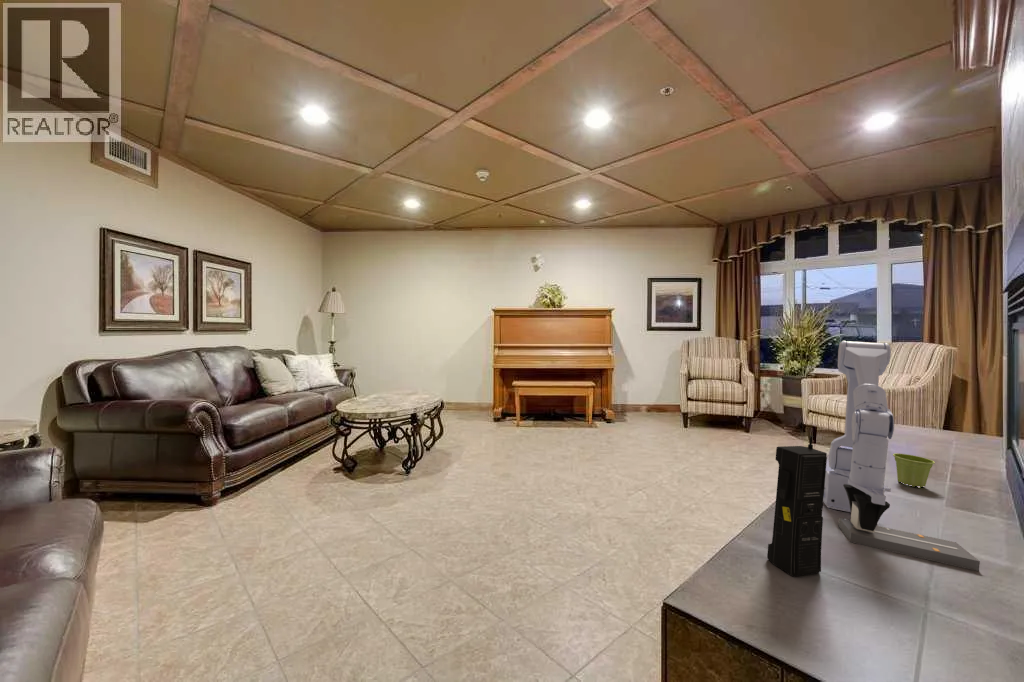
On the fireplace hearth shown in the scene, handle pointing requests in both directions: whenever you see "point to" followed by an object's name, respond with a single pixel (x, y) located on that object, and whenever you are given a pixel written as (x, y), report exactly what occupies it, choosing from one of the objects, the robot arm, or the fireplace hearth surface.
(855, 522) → the fader
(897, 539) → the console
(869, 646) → the fireplace hearth surface
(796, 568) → the portable radio
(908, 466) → the plant pot
